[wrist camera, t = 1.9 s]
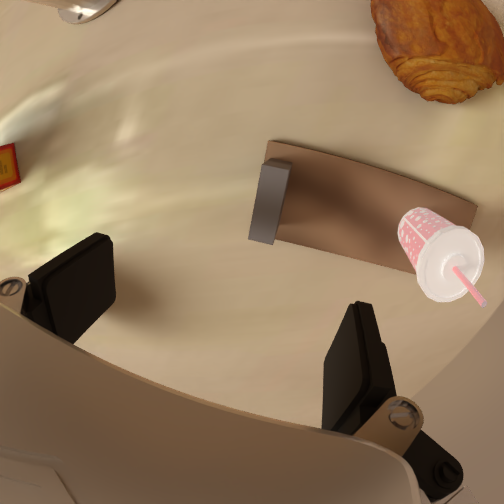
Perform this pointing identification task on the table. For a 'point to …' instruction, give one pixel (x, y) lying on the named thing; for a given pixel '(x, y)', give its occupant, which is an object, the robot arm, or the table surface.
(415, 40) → the croissant
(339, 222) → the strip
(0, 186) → the baking soda box
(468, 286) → the beverage cup
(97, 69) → the table surface
